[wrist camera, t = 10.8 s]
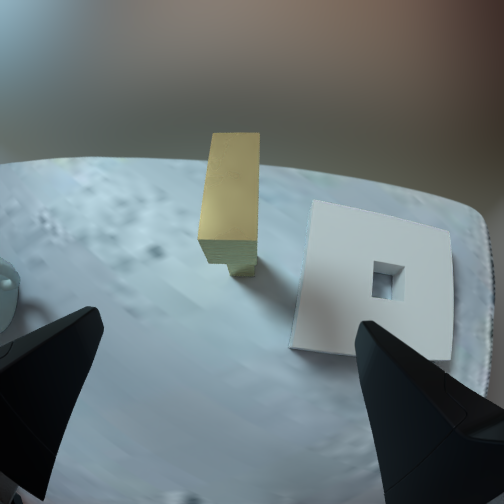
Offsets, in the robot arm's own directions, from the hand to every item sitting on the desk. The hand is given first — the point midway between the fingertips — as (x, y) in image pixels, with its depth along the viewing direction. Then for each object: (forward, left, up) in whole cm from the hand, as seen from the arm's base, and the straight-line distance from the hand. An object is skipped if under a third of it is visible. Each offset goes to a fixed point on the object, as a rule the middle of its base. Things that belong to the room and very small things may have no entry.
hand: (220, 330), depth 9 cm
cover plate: (-2, -12, -13) cm, 18 cm away
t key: (+6, -3, -13) cm, 15 cm away
